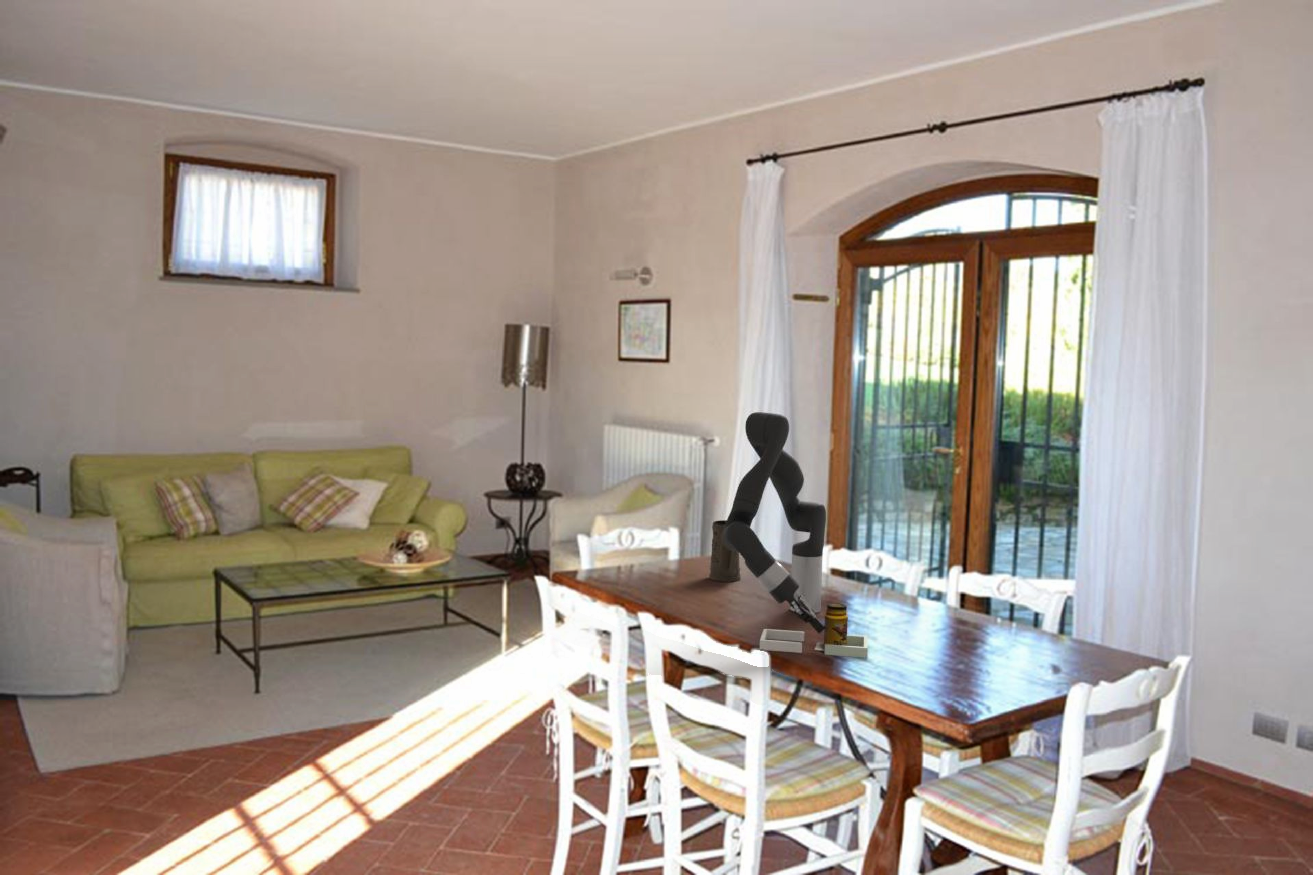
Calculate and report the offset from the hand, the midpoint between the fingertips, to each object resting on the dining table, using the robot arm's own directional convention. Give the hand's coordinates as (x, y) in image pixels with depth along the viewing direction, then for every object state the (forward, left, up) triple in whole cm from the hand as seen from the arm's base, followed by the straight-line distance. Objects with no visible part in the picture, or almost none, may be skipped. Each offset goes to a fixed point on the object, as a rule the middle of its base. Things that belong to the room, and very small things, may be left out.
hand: (822, 630), depth 297 cm
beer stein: (-79, -35, -5) cm, 86 cm away
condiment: (0, +3, -5) cm, 6 cm away
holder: (0, -10, -5) cm, 11 cm away
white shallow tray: (0, +5, -5) cm, 7 cm away
